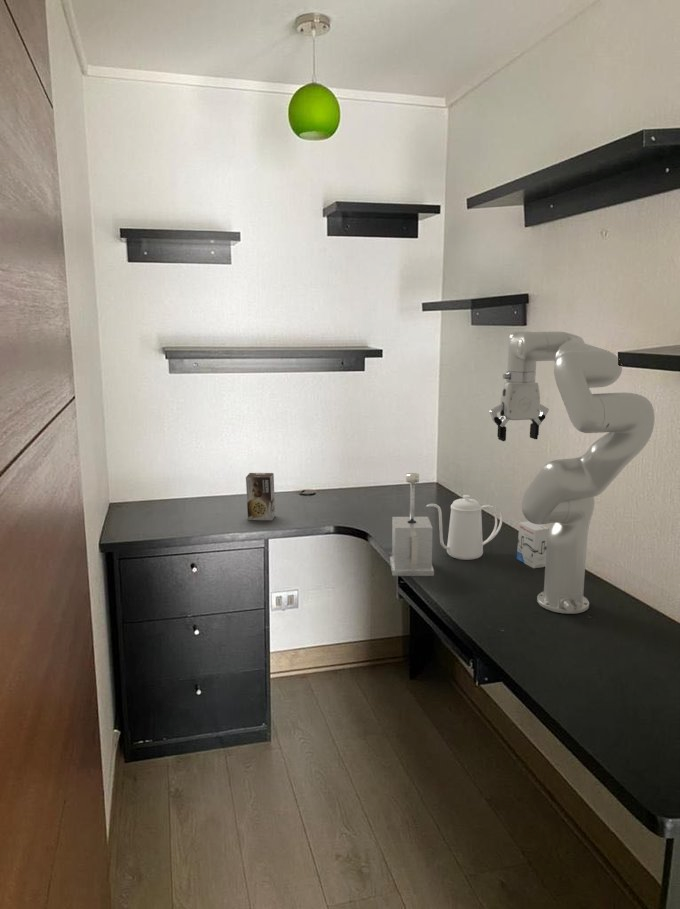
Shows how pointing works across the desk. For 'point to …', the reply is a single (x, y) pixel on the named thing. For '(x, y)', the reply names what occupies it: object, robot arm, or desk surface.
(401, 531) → the grey cube on plinth
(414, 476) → the plunger
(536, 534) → the ink box
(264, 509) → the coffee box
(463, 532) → the coffeepot
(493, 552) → the desk surface
